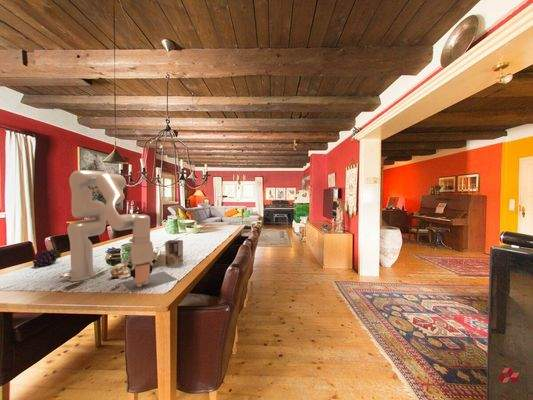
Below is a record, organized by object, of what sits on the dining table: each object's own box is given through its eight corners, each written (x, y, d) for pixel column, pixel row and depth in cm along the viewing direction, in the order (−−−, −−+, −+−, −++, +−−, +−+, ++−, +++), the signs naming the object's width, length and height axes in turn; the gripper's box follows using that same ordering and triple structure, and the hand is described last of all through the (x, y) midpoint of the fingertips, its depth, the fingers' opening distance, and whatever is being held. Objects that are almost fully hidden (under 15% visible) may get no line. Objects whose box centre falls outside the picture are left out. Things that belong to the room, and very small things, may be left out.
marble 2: (143, 286, 113) (143, 281, 113) (141, 285, 114) (141, 280, 114) (148, 285, 115) (148, 280, 114) (147, 283, 116) (146, 279, 116)
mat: (132, 294, 106) (132, 292, 106) (120, 283, 118) (120, 282, 118) (177, 280, 122) (177, 279, 122) (163, 272, 134) (163, 271, 134)
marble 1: (137, 288, 111) (137, 283, 111) (136, 286, 112) (136, 282, 112) (143, 286, 113) (143, 282, 112) (141, 285, 114) (141, 280, 114)
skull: (139, 272, 131) (130, 263, 124) (128, 289, 124) (117, 280, 117) (122, 269, 134) (112, 260, 127) (110, 286, 127) (99, 277, 120)
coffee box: (183, 264, 149) (183, 240, 148) (178, 267, 142) (178, 242, 142) (170, 263, 150) (170, 239, 149) (165, 267, 143) (164, 241, 143)
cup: (136, 283, 109) (136, 267, 108) (131, 279, 113) (131, 264, 113) (151, 279, 114) (151, 264, 113) (146, 276, 118) (146, 261, 118)
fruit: (31, 272, 140) (53, 259, 154) (47, 270, 140) (68, 257, 154) (23, 258, 137) (46, 246, 151) (40, 256, 137) (61, 244, 151)
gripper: (124, 244, 104) (124, 282, 104) (162, 238, 116) (162, 272, 117) (119, 241, 109) (119, 277, 109) (156, 236, 121) (156, 268, 122)
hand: (141, 274), depth 113 cm, fingers closed on cup, 7 cm apart
